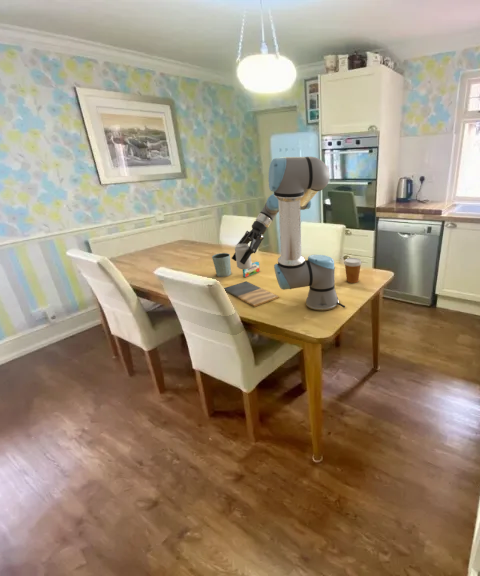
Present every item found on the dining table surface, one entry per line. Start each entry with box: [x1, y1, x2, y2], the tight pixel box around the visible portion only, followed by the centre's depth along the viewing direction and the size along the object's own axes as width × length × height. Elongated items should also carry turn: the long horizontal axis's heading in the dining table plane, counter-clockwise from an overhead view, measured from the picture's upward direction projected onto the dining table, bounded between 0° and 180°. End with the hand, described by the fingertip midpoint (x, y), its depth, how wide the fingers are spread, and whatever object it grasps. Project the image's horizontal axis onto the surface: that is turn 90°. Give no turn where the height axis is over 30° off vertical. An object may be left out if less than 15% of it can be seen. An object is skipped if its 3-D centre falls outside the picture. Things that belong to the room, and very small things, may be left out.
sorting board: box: [223, 280, 279, 308], centre depth 163 cm, size 30×14×1 cm, turn 44°
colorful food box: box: [242, 261, 261, 278], centre depth 190 cm, size 12×2×6 cm, turn 145°
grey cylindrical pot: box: [211, 252, 232, 278], centre depth 189 cm, size 10×10×12 cm
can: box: [234, 243, 253, 270], centre depth 162 cm, size 8×8×12 cm
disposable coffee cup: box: [343, 257, 362, 284], centre depth 174 cm, size 10×10×12 cm
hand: (237, 261), depth 161 cm, fingers closed on can, 7 cm apart
